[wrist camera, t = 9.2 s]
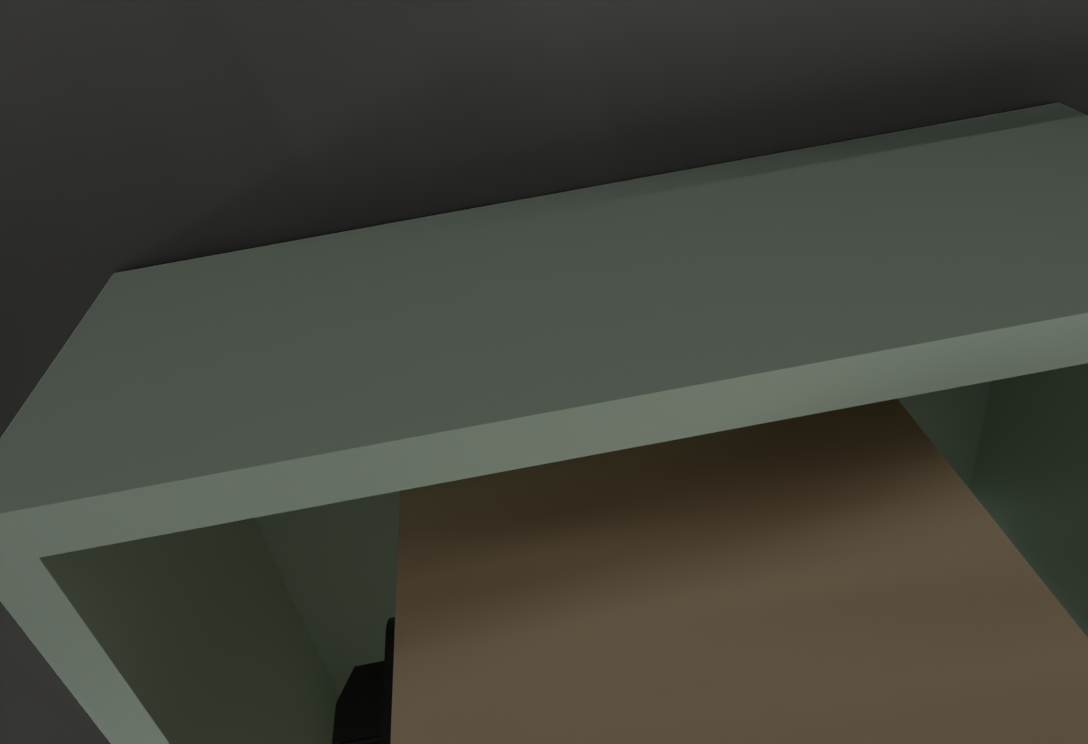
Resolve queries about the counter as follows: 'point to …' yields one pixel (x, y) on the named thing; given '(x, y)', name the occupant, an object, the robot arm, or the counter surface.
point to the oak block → (729, 599)
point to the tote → (524, 395)
